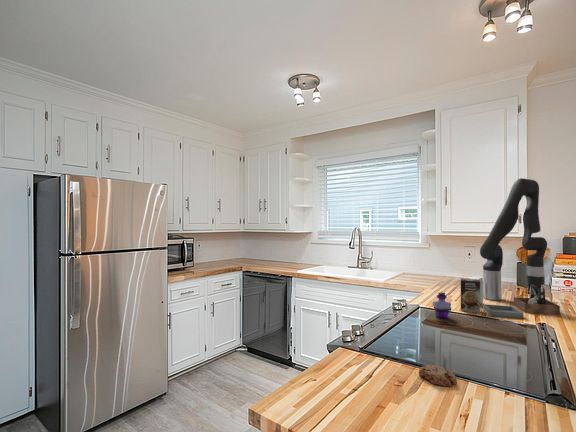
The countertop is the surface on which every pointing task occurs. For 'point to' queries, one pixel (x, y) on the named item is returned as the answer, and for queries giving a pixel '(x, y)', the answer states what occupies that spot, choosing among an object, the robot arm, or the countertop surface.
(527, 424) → the countertop surface
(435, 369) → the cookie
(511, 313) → the charcoal tray
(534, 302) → the frog figurine
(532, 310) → the walnut frame
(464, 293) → the coffee box
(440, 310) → the potion bottle
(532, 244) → the robot arm
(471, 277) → the skincare box
